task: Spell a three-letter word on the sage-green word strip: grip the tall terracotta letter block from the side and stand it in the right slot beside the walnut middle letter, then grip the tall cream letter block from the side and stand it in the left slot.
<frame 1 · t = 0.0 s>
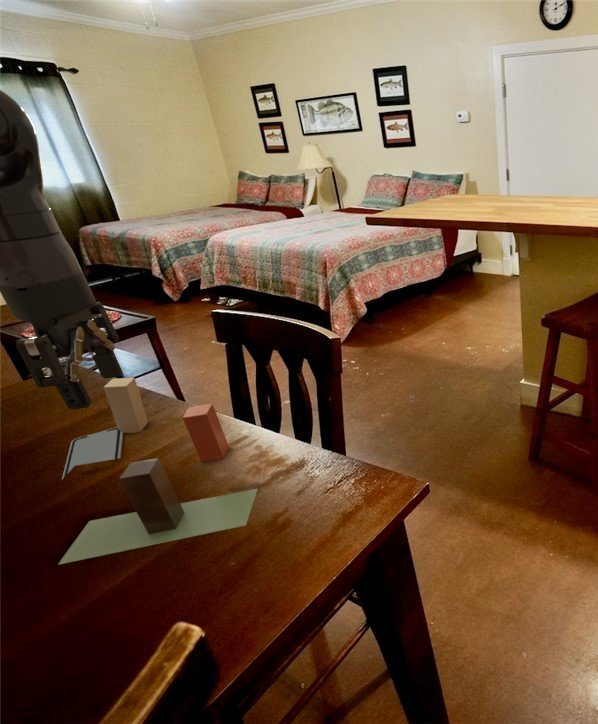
hand: (98, 391, 64), 20 cm above the table, tool pointing down, fingers open, 8 cm apart
letter c: (134, 428, 91), on the table, tilted 6°, touching smartphone
smartphone: (96, 457, 83), on the table, touching letter c
letter t: (217, 458, 82), on the table
letter a: (166, 523, 68), point 1 cm above the table, touching word strip
word strip: (169, 528, 68), on the table
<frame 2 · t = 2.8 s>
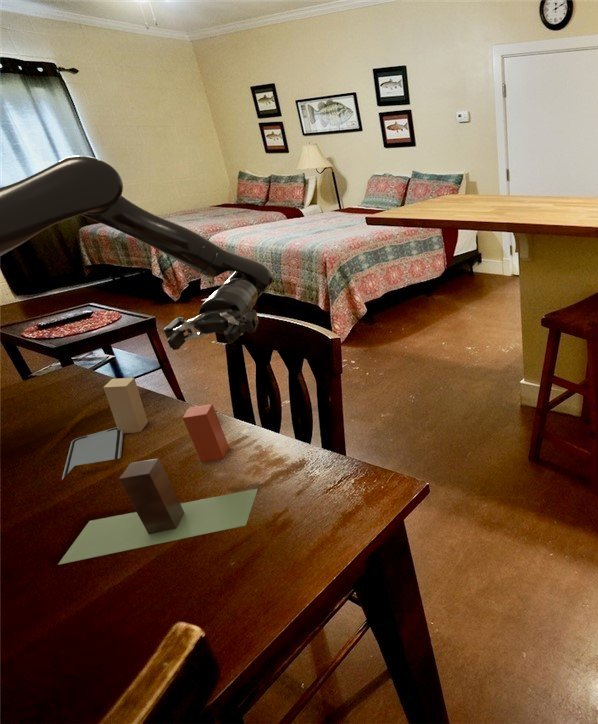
hand: (200, 341, 83), 18 cm above the table, tool horizontal, fingers open, 8 cm apart
nothing on the table moved.
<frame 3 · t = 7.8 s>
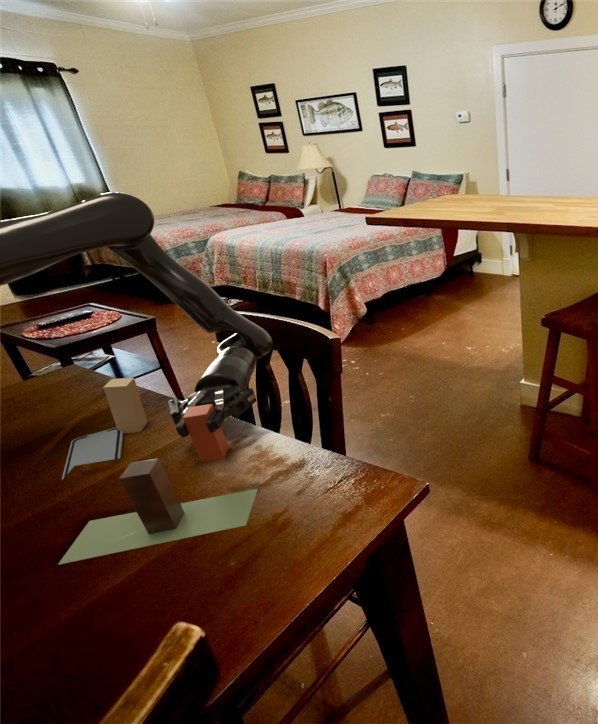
hand: (196, 429, 76), 8 cm above the table, tool horizontal, fingers closed on letter t, 3 cm apart
letter t: (217, 458, 82), on the table, touching gripper
everything else where it was.
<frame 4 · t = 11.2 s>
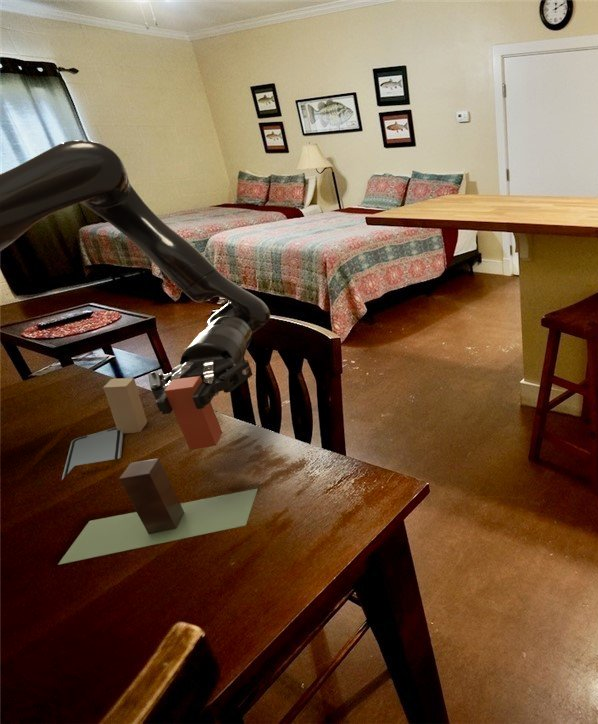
hand: (181, 405, 64), 18 cm above the table, tool horizontal, fingers closed on letter t, 3 cm apart
letter t: (206, 441, 70), point 10 cm above the table, touching gripper
everything else where it was.
when the fingers open (9 cm above the table, at t = 14.8 s): letter t stays where it is, resting on word strip.
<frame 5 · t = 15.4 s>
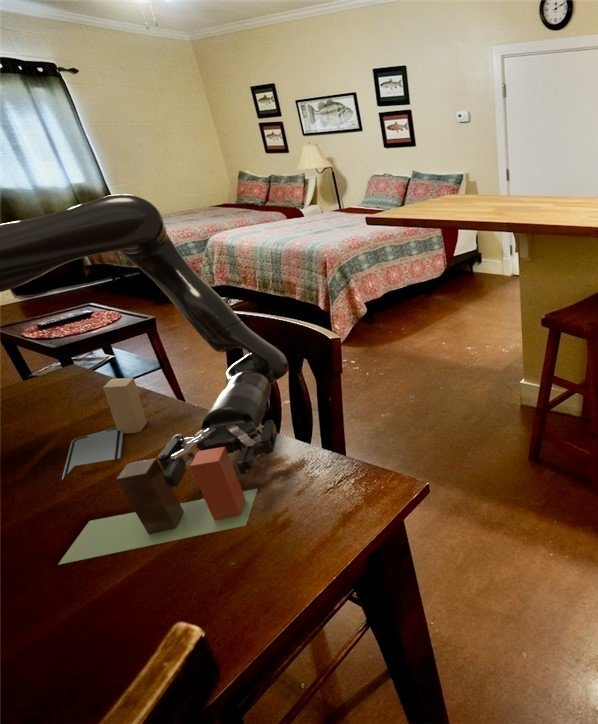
hand: (207, 475, 65), 9 cm above the table, tool horizontal, fingers open, 8 cm apart
letter t: (230, 509, 70), point 1 cm above the table, touching word strip
letter a: (166, 522, 68), point 1 cm above the table, touching gripper, word strip
everything else where it was.
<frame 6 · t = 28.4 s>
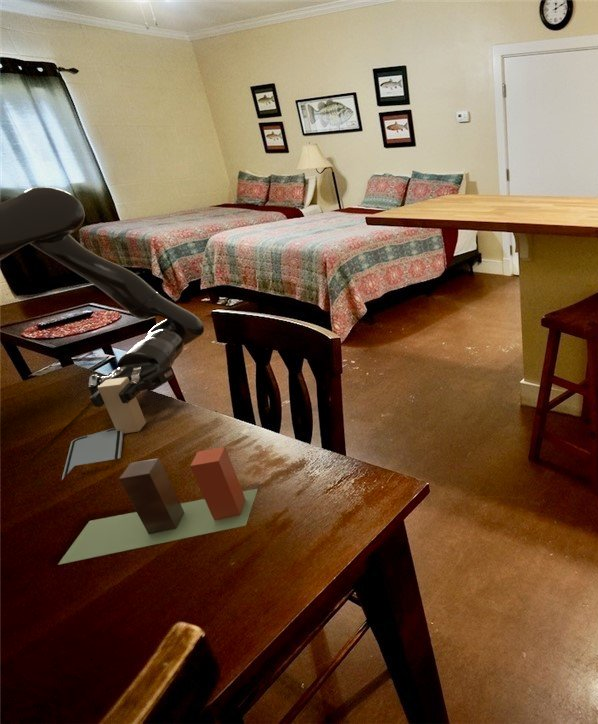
hand: (109, 400, 85), 8 cm above the table, tool horizontal, fingers closed on letter c, 3 cm apart
letter c: (132, 428, 91), on the table, touching gripper, smartphone
letter a: (166, 523, 68), point 1 cm above the table, touching word strip
everything else where it was.
when the fingers open (9 cm above the table, at t = 37.2 s): letter c stays where it is, resting on word strip.
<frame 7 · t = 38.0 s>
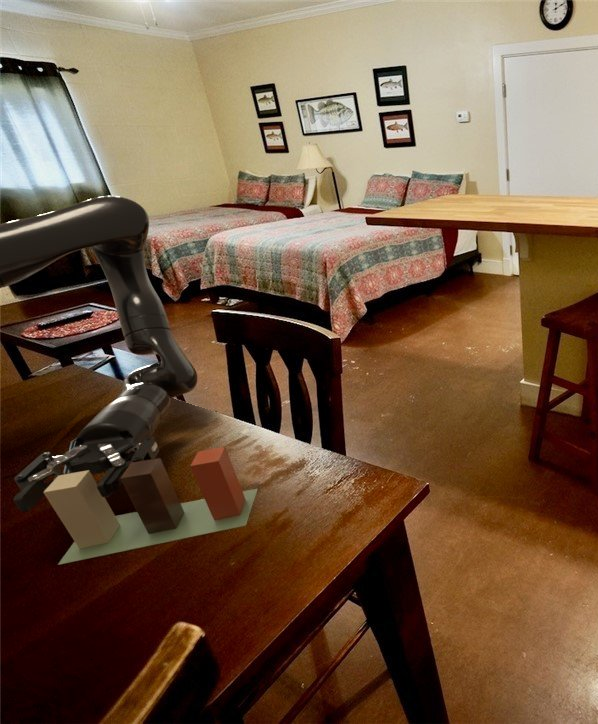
hand: (62, 498, 60), 10 cm above the table, tool horizontal, fingers open, 8 cm apart
letter c: (100, 536, 66), point 1 cm above the table, touching word strip
smartphone: (96, 458, 83), on the table
everything else where it was.
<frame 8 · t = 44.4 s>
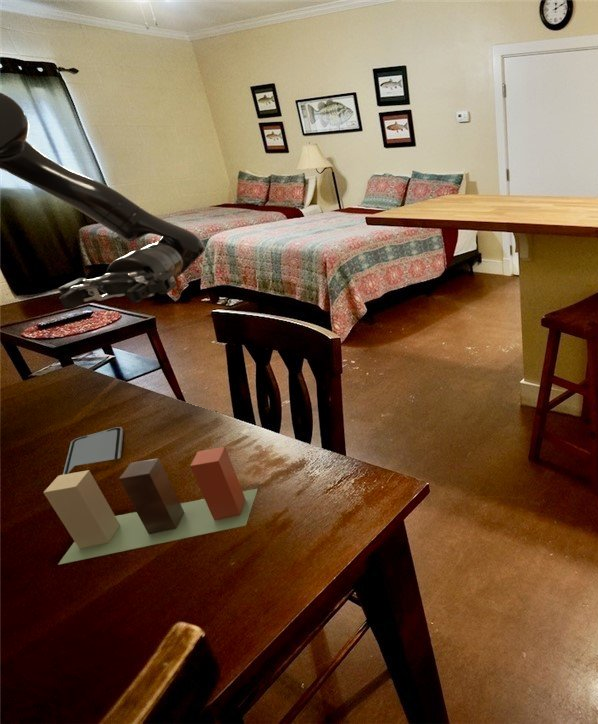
hand: (99, 300, 73), 28 cm above the table, tool horizontal, fingers open, 8 cm apart
nothing on the table moved.
at the end: letter c 0.0 cm from the target spot on the word strip, point 1.0 cm above the word strip's base; letter t 0.1 cm from the target spot on the word strip, point 1.0 cm above the word strip's base; letter a moved 0.0 cm from its start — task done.
